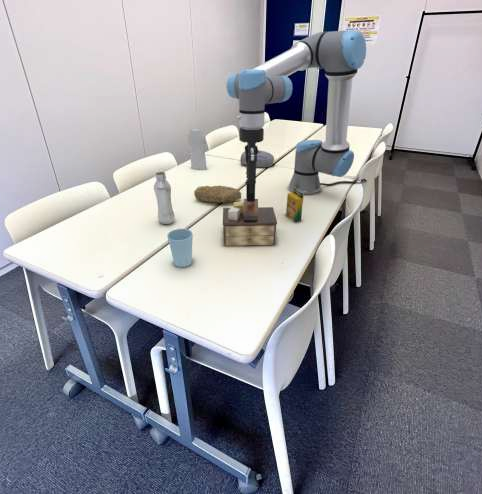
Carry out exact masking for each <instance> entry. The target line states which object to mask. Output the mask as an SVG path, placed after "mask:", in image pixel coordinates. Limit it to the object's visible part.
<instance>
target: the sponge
mask: <svg viewBox="0 0 482 494" xmlns="http://www.w3.org/2000/svg"><path fill="white" fill-rule="evenodd" d="M193 195H194V197H195V199H196V200H199V201H203V202H210V203H216V204H220V203H222V204H223V203H230V202H236V201H239V200H241V199H242V192H241V191H240V190H239V189H238V188H234V187H230V186H226V185H213V186H209V185H204V186H203V185H202V186H197V187H196V189H195V190H194V191H193Z"/></svg>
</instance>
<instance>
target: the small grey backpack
mask: <svg viewBox="0 0 482 494" xmlns="http://www.w3.org/2000/svg"><path fill="white" fill-rule="evenodd" d="M245 155H246V153H245V151H243V152H242V153H241V155H240V160H239V161H240V165H241V166H245V167H246V157H245ZM274 163H275V157H274V155H273V154H272V153H270V152H268V151H265V150H260V149H258V153H257V162H256V168H271V167H272V166H273V165H274Z"/></svg>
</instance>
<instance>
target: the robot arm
mask: <svg viewBox="0 0 482 494" xmlns="http://www.w3.org/2000/svg"><path fill="white" fill-rule="evenodd" d="M364 36H365V35H364V34H363V33H362V32H361V31H359V30H351V29H347V30H346V29H345V30H334V31H320V32H316V33H314V34H312V35H309V36H307V37H305V38H303V39H300V40H299V41H297V42H295V43H294V44H293V45H292V46H291V47H290V49H288V50H286V51H284V52H282V53H281V54H279V55H276V56H274V57H273V58H271V59H269V60H267V61H265V62H263V63H261V64H260V65H258V66H256V67H254V68H252V69H242V70H240V72H239V73H234V74H231V75H230V76H229V77H228V78H227V81H226V92H227V94H228V95H229V97H231V98H232V99H237V100H238V109H239V110H238V114H239V115H237V117H236V118H237V120H239V123H238V124H239V127H240V128H239V130H238V137H239V139H238V140H239V141H240V142H241V143H244V144H245V143H246V145H244V152H245V153H246V155H245V157H246V166H245V167H246V172H245V174H246V175H245V177H246V180H245V181H244V183H245V185H246V186H245V187H246V188H245V191H246V193H245V194H246V196H245V197H246V198H245V199H247V202H255V199H256V183H257V167H256V162H257V153H258V150H259V147H258V145H256V144H258V143H261V142H263V141H264V137H265V135H264V134H265V130H264V127H265V113H266V112H265V106H266V105H271V104H277V103H278V104H280V103H284V102H286V101H288V100H289V99H290V98H291V96H292V94H293V82H292V80H291V79H290V78H289V77H288V76H291V75H292V74H294V73H296V72H297V71H301V72H302V71H305V70H307V69H313V68H318V69H320V68H321V69H325V70H324V76H325V77H326V78H327V79H328V87H327V108H326V122H325V123H326V125H325V141H322V140H321V139H307V140H302V141H299V142H298V143H296V147H295V151H294V152H295V154H294V155H295V156H294V168H293V174H292V176H291V179H290V182H289V184H288V189H289V191H290V192H294V188H295V189H296V190H298V191H299V192H301V193H302V194H303V195H306V196H307V195H315V194H318V193H320V191H321V189H322V186H325V187H330V186H334V185H338V184H357V183H356V182H357V181H358V180H339V181H335V182H331V183H324V182H321V181H320V176H319V173H321V174H325V175H329V176H332V177H338V178H342V177H344V176H346V174H348V173H349V171H350V169H351V167H352V166H353V163H354V159H355V153H354V151H352V150H350V145H351V144H350V142H349V141H347V139H348V128H349V120H350V119H349V117H350V109H351V108H350V107H351V98H352V96H351V95H352V88H353V87H352V86H353V79H354V77H355V76H356V75H357V74H358V70H359V69H360V68H362V66H363V65H364V64H365V60H366V56H367V43H366V38H365V37H364ZM247 177H248V181H247ZM360 180H361V182H360V183H362V182H366V183H367V181H368V180H367V179H366V178H362V179H360ZM299 192H297V191H296V193H298V195H300V193H299Z"/></svg>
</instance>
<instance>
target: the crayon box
mask: <svg viewBox="0 0 482 494" xmlns="http://www.w3.org/2000/svg"><path fill="white" fill-rule="evenodd" d="M296 191H297V192H299V191H298V190H296V189H295V188H294V192H292V191H290V192H287V194H286V195H287V196H286V210H285V215H286V216H287V217H288V218H290V220H292V221H293V222H294V223H298V222H301V221H302V215H303V214H302V213H303V206H304V194H302V193H301V192H299V193H300V194H298V193H296Z"/></svg>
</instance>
